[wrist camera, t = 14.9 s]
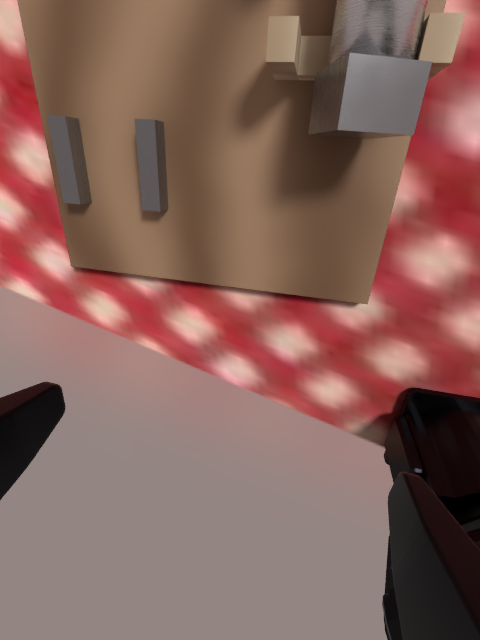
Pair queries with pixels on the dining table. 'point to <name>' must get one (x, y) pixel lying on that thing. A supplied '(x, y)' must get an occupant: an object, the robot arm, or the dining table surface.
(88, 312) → the dining table surface
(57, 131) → the socket
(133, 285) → the dining table surface
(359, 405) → the dining table surface
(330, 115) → the grey piece
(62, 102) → the board
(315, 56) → the rack
